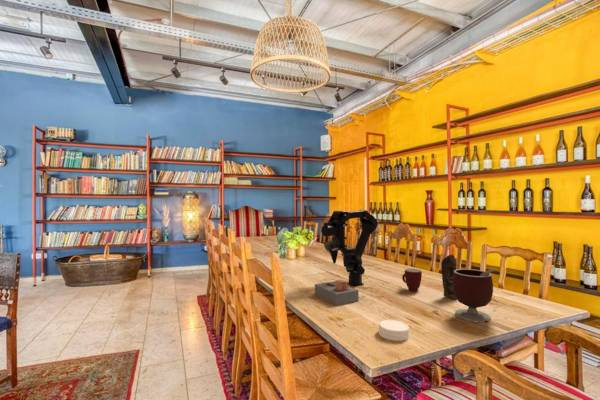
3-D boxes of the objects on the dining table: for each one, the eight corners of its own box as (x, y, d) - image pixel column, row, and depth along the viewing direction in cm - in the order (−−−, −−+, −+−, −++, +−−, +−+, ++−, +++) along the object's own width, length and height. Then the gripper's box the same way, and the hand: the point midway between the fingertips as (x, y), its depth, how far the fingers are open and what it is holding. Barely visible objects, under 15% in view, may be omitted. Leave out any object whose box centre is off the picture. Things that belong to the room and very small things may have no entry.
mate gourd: (445, 313, 124) (444, 263, 124) (466, 307, 131) (465, 260, 131) (484, 327, 110) (483, 271, 110) (505, 320, 117) (505, 267, 117)
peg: (342, 298, 144) (342, 279, 144) (347, 301, 140) (347, 281, 140) (335, 300, 142) (335, 280, 142) (340, 302, 138) (340, 282, 138)
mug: (397, 288, 159) (397, 269, 159) (406, 286, 164) (406, 267, 164) (416, 293, 151) (416, 273, 151) (424, 290, 156) (424, 270, 156)
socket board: (335, 291, 156) (335, 281, 156) (358, 301, 140) (358, 290, 140) (314, 294, 150) (314, 284, 150) (336, 305, 134) (336, 294, 134)
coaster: (379, 327, 111) (379, 317, 111) (408, 330, 108) (408, 320, 108) (378, 339, 102) (377, 329, 102) (410, 343, 99) (410, 332, 99)
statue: (454, 300, 140) (453, 256, 141) (440, 296, 147) (440, 253, 147) (463, 298, 144) (463, 254, 144) (450, 294, 150) (449, 252, 150)
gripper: (316, 234, 165) (316, 263, 165) (337, 237, 149) (337, 270, 149) (333, 233, 170) (334, 261, 170) (355, 236, 154) (355, 267, 154)
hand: (339, 265), depth 161 cm, fingers open, 9 cm apart
